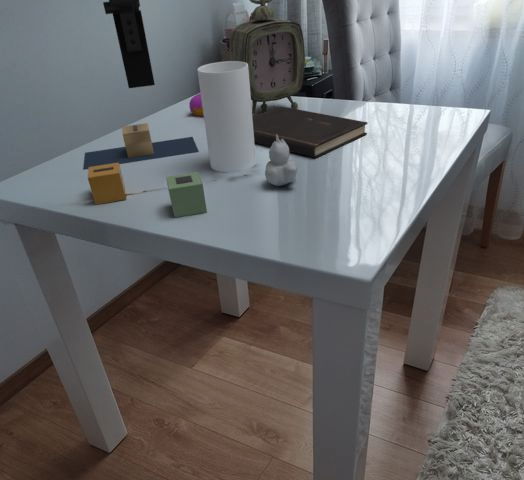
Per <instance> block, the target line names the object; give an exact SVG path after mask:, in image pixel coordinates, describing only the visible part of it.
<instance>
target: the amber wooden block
mask: <svg viewBox="0 0 524 480" xmlns="http://www.w3.org/2000/svg"><path fill="white" fill-rule="evenodd" d="M87 181H88V184H89V187H90V191H91V194H92V198H93V200H94V201H93V202H94V204H95V205H102V204H108V203H113V202H120V201H126V200H127V193H126V185H125V180H124V177H123V173H122V170H121V164H119V163H112V164H106V165H99V166H93V167H89V168H88V169H87Z"/></svg>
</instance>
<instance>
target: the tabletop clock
mask: <svg viewBox="0 0 524 480" xmlns="http://www.w3.org/2000/svg"><path fill="white" fill-rule="evenodd" d="M249 1H250V3H253V4H254V5H258V6H256V7H255V8H254V9H253V11H252V14H251V18H250V21H246V22H241V23H240V24H237V25H236V26H234V27H233V28H232V29H231V31H230V35H229V45H228V49H229V50H228V51H229V52H228V53H229V61H239V62H245V63H247V64H248V69H249V82H250V94H251V104H252V117H253V116H256V115H258V114H257V112H256V108H257V103H261V105H260V110H261V111H263V112H267V111H268V107H269V106H268V104H267V103H269V102H275V101H280V100H284V99H286V98H287V100H288V101H289V103H290V108H293V109H298V108H299V105H298V102H296V101H294V100H293V99H292V97H293V96H295V95H296V94H297V93H299V92H300V91H302V89H303V85H304V80H305V68H306V67H305V66H306V65H305V64H306V52H305V51H306V50H305V40H304V39H305V38H304V34H303V29H302V27H301V24H300V23H298V22H295V21H291V20H284V19H278V18H277V15H276V12H275V10H274V9H273V7H272V6H270V5H266V4H269V3H271V2H272V1H273V0H249Z"/></svg>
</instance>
